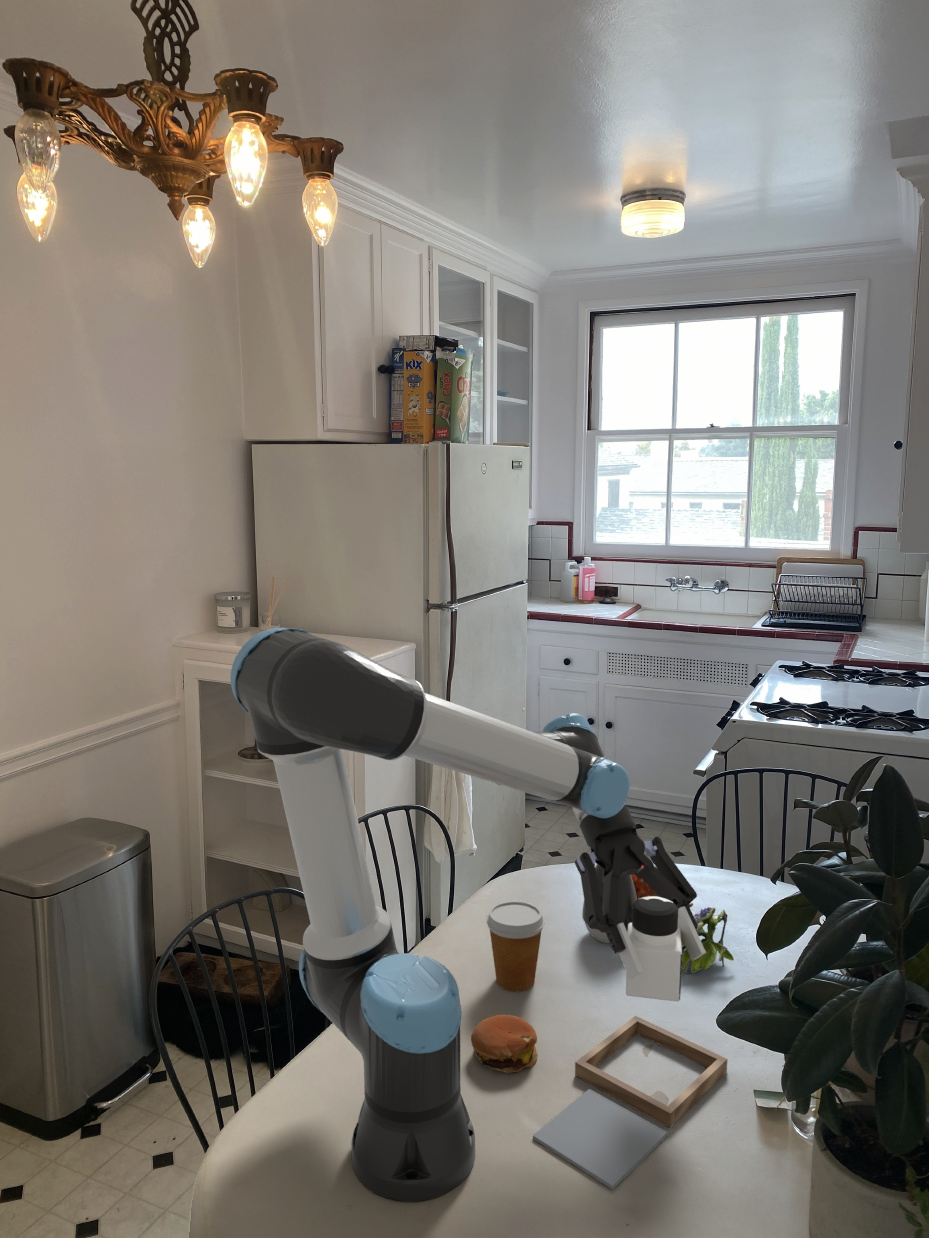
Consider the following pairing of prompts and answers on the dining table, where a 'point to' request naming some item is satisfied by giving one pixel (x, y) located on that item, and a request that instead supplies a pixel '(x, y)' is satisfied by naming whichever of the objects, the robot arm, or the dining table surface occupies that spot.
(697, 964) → the passion flower
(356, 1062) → the dining table surface
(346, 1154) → the dining table surface
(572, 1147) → the slate mat
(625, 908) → the grey egg-shaped container
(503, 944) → the disposable coffee cup
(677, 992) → the medicine bottle
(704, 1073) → the walnut caddy
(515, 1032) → the burger
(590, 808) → the robot arm
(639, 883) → the dragon fruit
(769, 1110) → the dining table surface
